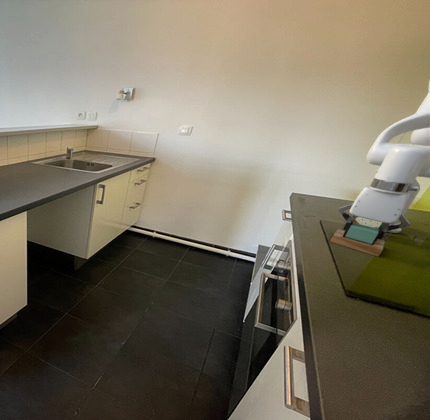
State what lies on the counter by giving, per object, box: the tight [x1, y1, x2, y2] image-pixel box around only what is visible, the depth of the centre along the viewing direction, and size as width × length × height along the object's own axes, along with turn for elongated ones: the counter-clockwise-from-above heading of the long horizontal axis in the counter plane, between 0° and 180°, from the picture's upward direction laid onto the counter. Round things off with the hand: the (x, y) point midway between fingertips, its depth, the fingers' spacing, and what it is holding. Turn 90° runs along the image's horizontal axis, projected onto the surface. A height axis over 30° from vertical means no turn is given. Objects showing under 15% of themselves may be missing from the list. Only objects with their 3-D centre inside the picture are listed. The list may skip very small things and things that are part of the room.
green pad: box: [345, 223, 379, 244], centre depth 83 cm, size 6×6×4 cm
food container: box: [353, 217, 382, 229], centre depth 94 cm, size 12×6×10 cm, turn 168°
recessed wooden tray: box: [329, 228, 385, 257], centre depth 85 cm, size 11×11×2 cm
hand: (360, 235), depth 84 cm, fingers closed on green pad, 5 cm apart
